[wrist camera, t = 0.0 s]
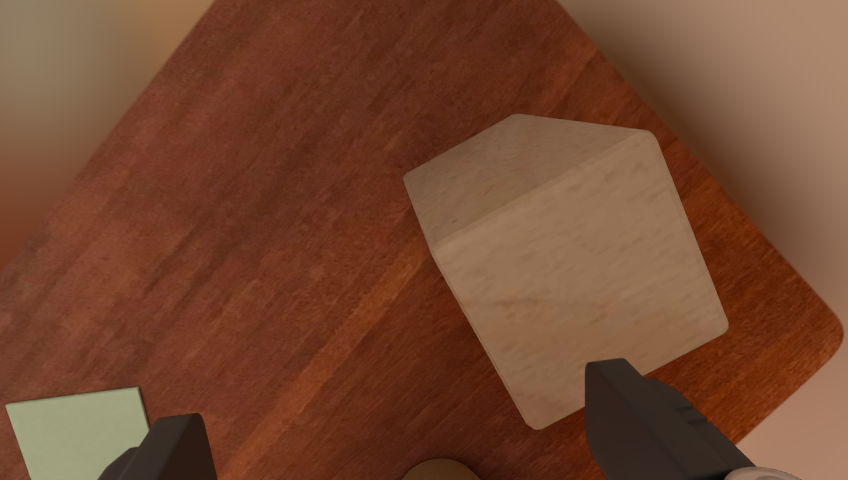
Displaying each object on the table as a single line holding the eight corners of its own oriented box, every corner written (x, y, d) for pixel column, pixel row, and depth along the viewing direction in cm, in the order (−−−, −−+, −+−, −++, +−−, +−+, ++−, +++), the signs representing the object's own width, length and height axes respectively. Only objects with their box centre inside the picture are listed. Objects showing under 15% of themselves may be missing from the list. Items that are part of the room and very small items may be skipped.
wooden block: (570, 224, 42) (737, 332, 23) (460, 283, 43) (534, 438, 24) (517, 110, 40) (657, 126, 20) (400, 175, 40) (428, 251, 21)
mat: (7, 403, 42) (5, 405, 41) (138, 386, 42) (137, 388, 42) (50, 526, 45) (48, 529, 45) (171, 509, 46) (170, 512, 45)
